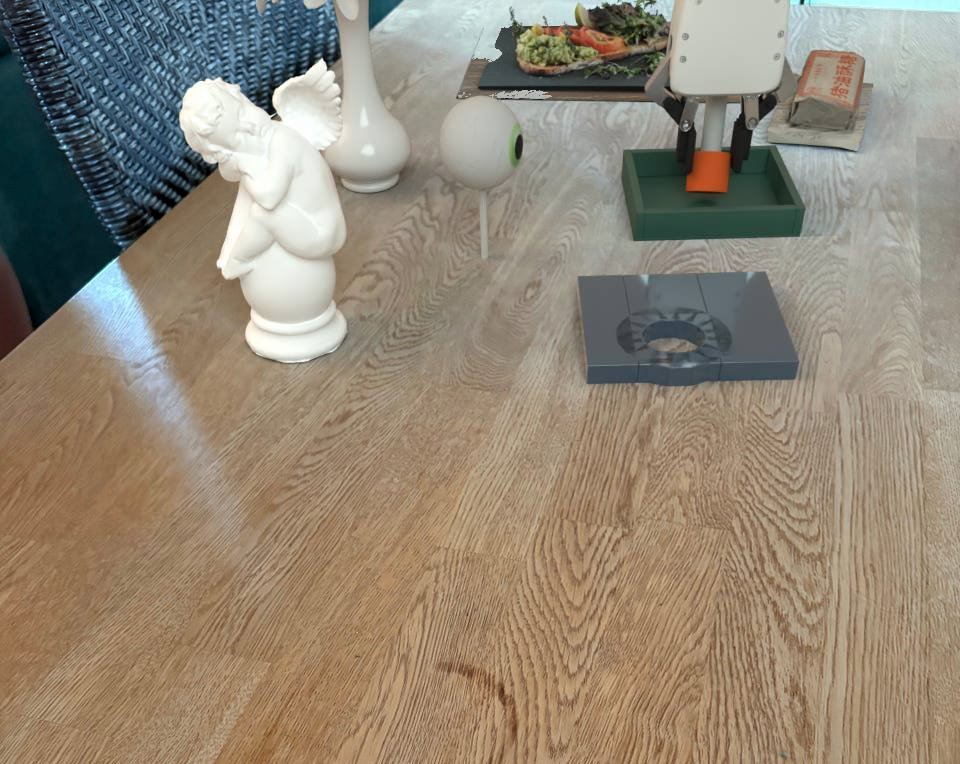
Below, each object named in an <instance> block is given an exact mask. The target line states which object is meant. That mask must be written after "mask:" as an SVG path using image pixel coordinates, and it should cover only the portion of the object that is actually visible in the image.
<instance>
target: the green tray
mask: <svg viewBox="0 0 960 764" xmlns="http://www.w3.org/2000/svg"><path fill="white" fill-rule="evenodd" d="M700 150H701V146H700V147H695V151H700ZM721 152H727V153H730V146H722V150H721ZM620 179H621V184H622V189H623V194H624V198H625V204H626V208H627V209H626V210H627V214H628V218H629V225H630V228H631V234H632V237H633V242H656V241H657V242H660V241H661V242H662V241H696V240H731V239H734V240H735V239H766V238H767V239H768V238H771V239H772V238H773V239H774V238H800V237H801V234H802V228H803V223H804V220H805V219H804V218H805V215H806V214H805V213H806V209H807V208H806V205H805V204H804V201H803V199H802V198H801V195H800V193H799V191H798V189H797V187H796V184H795V182H794V181H793V178H792V176H791V174H790V171H789V169H788V168H787V165H786V164H785V161H784V159H783V156H782V155H781V153H780V150H779V149H778V147H777V145H776V144H771V145H769V144H768V145H751V146H750V153H749V158H748V160H744V161H743V163H742V169H741V173H734V172H733V171H732V168H731V166H730V172H729V180H728V188H727V193H725V194H703V193H689V192H686V183H687V175H684V173H683V169H682V166H681V162H676V147H669V148H667V147H666V148H634V149H623V150H622V163H621V177H620Z"/></svg>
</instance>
